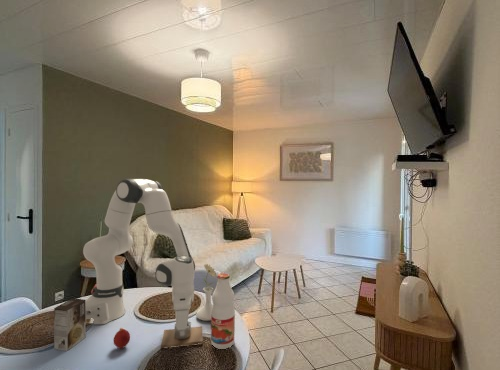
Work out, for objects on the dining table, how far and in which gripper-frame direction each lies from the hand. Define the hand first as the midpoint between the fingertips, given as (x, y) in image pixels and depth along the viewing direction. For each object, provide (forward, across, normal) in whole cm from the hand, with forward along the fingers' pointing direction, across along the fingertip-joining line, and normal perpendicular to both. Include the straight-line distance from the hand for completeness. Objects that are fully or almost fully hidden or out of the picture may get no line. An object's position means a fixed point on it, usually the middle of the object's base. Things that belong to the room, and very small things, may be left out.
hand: (182, 329), depth 110 cm
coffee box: (+4, -5, -44) cm, 45 cm away
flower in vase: (+4, -17, +11) cm, 21 cm away
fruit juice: (+4, +6, +16) cm, 18 cm away
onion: (+4, +2, -23) cm, 23 cm away
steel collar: (+2, 0, 0) cm, 2 cm away
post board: (+4, 0, 0) cm, 4 cm away
